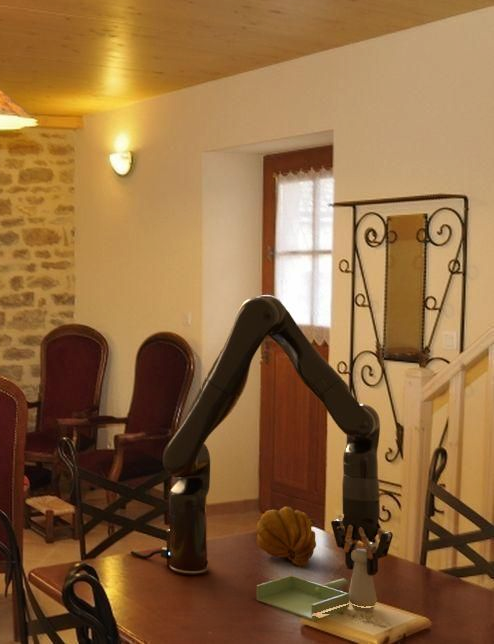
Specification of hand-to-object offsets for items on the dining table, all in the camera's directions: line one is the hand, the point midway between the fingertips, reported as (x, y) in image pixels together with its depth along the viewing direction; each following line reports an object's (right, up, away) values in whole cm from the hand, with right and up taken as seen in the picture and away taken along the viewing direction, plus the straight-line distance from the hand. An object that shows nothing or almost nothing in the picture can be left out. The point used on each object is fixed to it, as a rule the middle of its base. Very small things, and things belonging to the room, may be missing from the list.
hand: (361, 571), depth 199 cm
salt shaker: (0, -8, 0) cm, 8 cm away
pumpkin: (-2, -8, +36) cm, 37 cm away
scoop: (-8, -8, +6) cm, 13 cm away
